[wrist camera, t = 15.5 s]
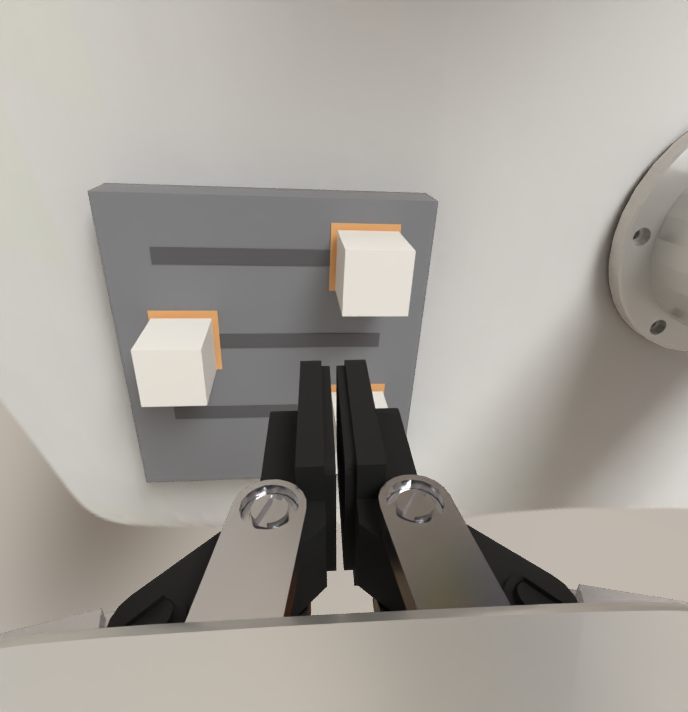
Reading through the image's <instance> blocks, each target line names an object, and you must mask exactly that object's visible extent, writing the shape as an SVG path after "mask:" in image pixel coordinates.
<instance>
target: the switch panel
mask: <svg viewBox="0 0 688 712" xmlns="http://www.w3.org/2000/svg"><path fill="white" fill-rule="evenodd" d="M88 195H89V200H90V205H91V210H92V215H93V220H94V225H95V230H96V235H97V240H98V245H99V250H100V254H101V259H102V264H103V269H104V274H105V279H106V284H107V289H108V294H109V299H110V304H111V309H112V314H113V318H114V323H115V328H116V333H117V338H118V343H119V348H120V353H121V358H122V363H123V368H124V373H125V378H126V383H127V387H128V392H129V397H130V402H131V407H132V412H133V417H134V422H135V427H136V432H137V437H138V442H139V447H140V451H141V456H142V461H143V466H144V471H145V476H146V481H147V483H149V482H174V481H199V480H224V479H249V478H261V473H262V465H263V458H264V451H265V444H266V437H267V430H268V423H269V416H270V412H271V411H298V397H299V378H300V361H318V360H321V366H330V378H331V392H336V366H339V365H344V360H362V359H365V360H366V364H367V369H368V374H369V379H370V384H371V389H372V391H383V394H384V397H385V400H386V403H387V406H388V408H398V409H399V412H400V415H401V419H402V423H403V426H404V430H405V433H406V434H407V426H408V419H409V412H410V405H411V397H412V390H413V383H414V375H415V368H416V361H417V353H418V346H419V339H420V331H421V324H422V317H423V309H424V302H425V295H426V287H427V280H428V273H429V265H430V258H431V251H432V244H433V236H434V229H435V222H436V214H437V207H438V201H437V200H436V199H434V198H432V197H431V196H429V195H428V194H426V193H402V192H370V191H339V190H307V189H275V188H243V187H211V186H179V185H147V184H115V183H104V184H102V185H100V186H98V187H95V188H93V189H91V190H89V191H88ZM337 230H359V231H399V232H400V233H401V235H402V236H403V237H404V238H405V239H406V240H407V241H408V243H409V244H410V245H411V246H412V247H413V248H414V249H415V251H416V254H415V262H414V271H413V279H412V287H411V296H410V304H409V312H408V316H342V314H341V310H340V306H339V302H338V298H337V295H336V291H335V280H336V255H337ZM151 318H212V325H213V336H214V346H215V357H216V367H217V370H216V374H215V378H214V381H213V385H212V389H211V393H210V397H209V401H208V404H207V406H165V407H141V402H140V397H139V391H138V386H137V381H136V376H135V370H134V365H133V360H132V355H131V349H132V347H133V346H134V344H135V343H136V341H137V339H138V338H139V336H140V335H141V333H142V332H143V330H144V328H145V327H146V325H147V324H148V322H149V320H150V319H151ZM336 475H338V474H336Z"/></svg>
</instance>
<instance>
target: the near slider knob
mask: <svg viewBox="0 0 688 712" xmlns="http://www.w3.org/2000/svg"><path fill="white" fill-rule="evenodd" d="M415 254H416V251H415V249H414V248H413V247H412V246H411V245H410V244H409V243H408V241H407V240H406V239H405V238H404V237H403V236H402V235H401V233H400V232H399V231H359V230H337V255H336V280H335V291H336V295H337V298H338V302H339V306H340V310H341V314H342V316H408V312H409V304H410V296H411V287H412V279H413V271H414V262H415Z"/></svg>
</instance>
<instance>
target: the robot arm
mask: <svg viewBox="0 0 688 712" xmlns="http://www.w3.org/2000/svg"><path fill="white" fill-rule="evenodd" d="M609 285H610V290H611V294H612V298H613V302H614V304H615V306H616V308H617V310H618V312H619V314H620V316H621V317H622V318H623V320H624V321H625V322H626V323H627V324H628V325H629V326H630V327H631V328H632V329H633V330H634V331H636V332H637V333H639V334H640V335H642V336H643V337H644V338H646V339H647V340H649V341H651V342H653V343H656V344H658V345H660V346H662V347H664V348H669V349H674V350H679V351H688V132H687V133H685V134H684V135H683V136H682V137H680V138H679V139H678V140H677V141H675V142H674V143H673V144H672V145H671V146H670V147H669V148H668V150H667V151H666V152H665V153H664V154H663V155H662V156H661V157H660V158H659V159H658V160H657V161H656V162H655V163H654V164H653V165H652V167H651V168H650V169H649V171H648V172H647V174H646V175H645V176H644V178H643V179H642V180H641V182H640V183H639V184H638V186H637V187H636V189H635V190H634V192H633V194H632V196H631V198H630V200H629V201H628V203H627V205H626V207H625V209H624V211H623V213H622V215H621V218H620V220H619V223H618V226H617V229H616V231H615V234H614V237H613V241H612V246H611V252H610V257H609ZM336 452H337V471H338V487H339V502H340V518H341V533H342V549H343V564H344V570H353V574H354V585H355V586H360V587H361V588H362V589H363V590H365V591H366V592H367V593H368V594H370V595H371V596H372V597H373V608H374V612H370V613H350V614H332V615H312V616H311V601H312V600H313V599H315V597H317V596H318V595H319V593H321V592H322V590H324V589H325V588H326V587H327V571H336V460H335V443H334V427H333V410H332V394H331V378H330V366H321V360H318V361H300V378H299V397H298V411H271V412H270V416H269V423H268V430H267V437H266V444H265V451H264V458H263V465H262V473H261V480H260V482H256V483H254V484H252V485H250V486H248V487H246V488H245V489H244V490H243V491H241V492H240V493H239V494H238V495H237V497H236V498H235V500H234V502H233V504H232V506H231V509H230V511H229V514H228V516H227V519H226V521H225V524H224V526H223V529H222V531H221V532H219V533H218V534H216V535H215V536H214V537H212V538H211V539H209V540H208V541H207V542H205V543H204V544H202V545H201V546H200V547H198V548H197V549H195V550H194V551H193V552H191V553H190V554H188V555H187V556H186V557H184V558H183V559H181V560H180V561H179V562H177V563H176V564H174V565H173V566H172V567H170V568H169V569H167V570H166V571H165V572H163V573H162V574H161V575H159V576H158V577H156V578H155V579H153V580H152V581H151V582H149V583H148V584H147V585H145V586H144V587H142V588H141V589H140V590H138V591H137V592H135V593H134V594H133V595H131V596H130V597H129V598H128V599H127V600H125V601H124V602H123V603H122V604H121V605H120V606H119V607H118V608H117V610H116V611H113V612H109V613H106V614H104V613H103V610H102V608H99V609H96V610H92V611H88V612H84V613H80V614H76V615H72V616H68V617H64V618H60V619H57V620H53V621H49V622H45V623H41V624H37V625H33V626H29V627H25V628H21V629H17V630H13V631H9V632H5V633H2V634H0V712H688V602H684V601H679V600H673V599H666V598H660V597H654V596H648V595H641V594H635V593H629V592H623V591H617V590H611V589H605V588H598V587H592V586H586V585H580V584H579V585H578V588H577V590H572V589H568V588H567V586H566V585H565V584H564V583H562V582H561V581H560V580H558V579H557V578H555V577H554V576H552V575H551V574H549V573H548V572H546V571H544V570H543V569H541V568H539V567H538V566H536V565H534V564H532V563H531V562H529V561H527V560H526V559H524V558H522V557H521V556H519V555H517V554H516V553H514V552H512V551H511V550H509V549H507V548H505V547H504V546H502V545H500V544H499V543H497V542H495V541H494V540H492V539H490V538H489V537H487V536H485V535H484V534H482V533H480V532H478V531H477V530H475V529H473V528H472V527H470V526H468V525H466V523H465V521H464V519H463V518H462V516H461V514H460V512H459V510H458V509H457V507H456V505H455V503H454V501H453V499H452V498H451V496H450V494H449V493H448V492H447V490H446V489H445V488H444V487H443V486H442V485H440V484H439V483H438V482H436V481H435V480H432V479H430V478H428V477H425V476H420V475H417V473H416V470H415V466H414V462H413V459H412V455H411V451H410V448H409V444H408V441H407V437H406V433H405V430H404V426H403V423H402V419H401V415H400V412H399V409H398V408H375V404H374V399H373V394H372V389H371V384H370V379H369V374H368V369H367V364H366V360H365V359H362V360H344V365H339V366H336Z"/></svg>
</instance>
